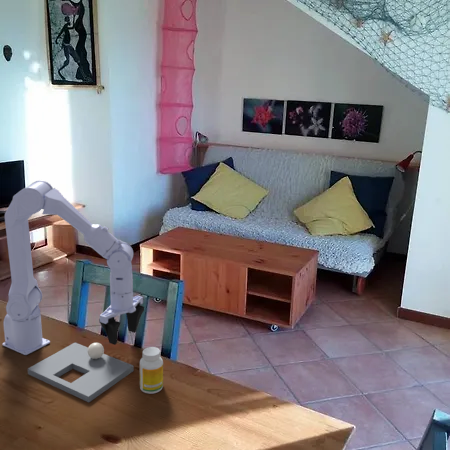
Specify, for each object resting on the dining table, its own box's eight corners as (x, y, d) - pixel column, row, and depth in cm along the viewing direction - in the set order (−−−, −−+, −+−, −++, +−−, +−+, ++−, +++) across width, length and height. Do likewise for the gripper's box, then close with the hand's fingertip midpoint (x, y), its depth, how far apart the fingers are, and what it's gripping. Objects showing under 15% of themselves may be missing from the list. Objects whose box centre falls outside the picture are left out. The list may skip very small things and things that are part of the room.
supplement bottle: (135, 386, 118) (134, 349, 116) (155, 378, 122) (155, 342, 119) (147, 397, 114) (147, 359, 112) (167, 389, 118) (167, 352, 115)
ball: (84, 359, 126) (83, 344, 125) (95, 352, 129) (95, 338, 128) (96, 363, 124) (95, 349, 123) (107, 356, 127) (107, 342, 126)
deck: (28, 374, 121) (27, 368, 121) (75, 347, 134) (74, 342, 133) (88, 402, 112) (88, 396, 111) (133, 370, 124) (133, 365, 124)
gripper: (113, 303, 123) (115, 353, 127) (151, 284, 135) (151, 330, 139) (92, 296, 126) (94, 345, 130) (131, 278, 138) (132, 323, 142)
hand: (122, 337), depth 134 cm, fingers open, 7 cm apart
